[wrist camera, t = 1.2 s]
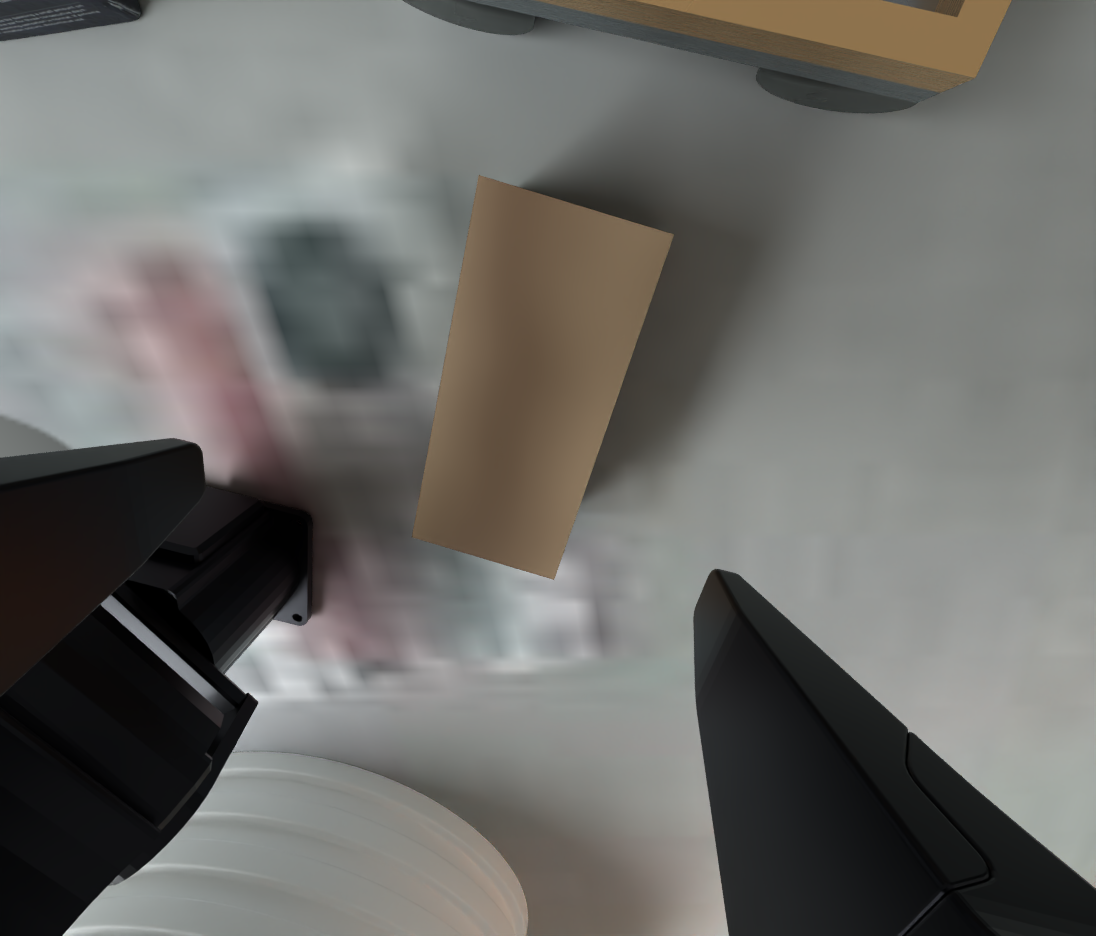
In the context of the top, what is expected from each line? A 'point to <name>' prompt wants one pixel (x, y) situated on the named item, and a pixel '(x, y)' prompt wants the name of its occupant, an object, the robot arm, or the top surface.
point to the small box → (61, 15)
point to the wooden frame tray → (785, 40)
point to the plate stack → (314, 863)
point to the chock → (532, 372)
